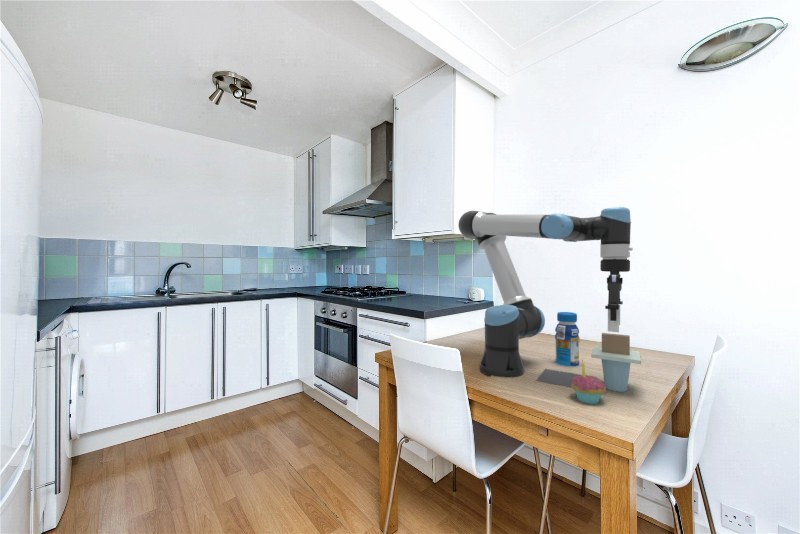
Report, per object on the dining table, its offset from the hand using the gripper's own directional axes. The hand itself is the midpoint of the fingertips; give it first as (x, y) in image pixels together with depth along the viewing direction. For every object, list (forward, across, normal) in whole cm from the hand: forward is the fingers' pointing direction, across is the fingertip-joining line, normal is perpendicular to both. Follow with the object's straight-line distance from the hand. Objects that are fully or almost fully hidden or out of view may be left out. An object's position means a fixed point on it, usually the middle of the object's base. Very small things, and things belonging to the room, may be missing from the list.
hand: (614, 328), depth 97 cm
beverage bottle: (+19, +19, +15) cm, 31 cm away
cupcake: (+19, -15, +6) cm, 25 cm away
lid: (+8, 0, 0) cm, 9 cm away
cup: (+19, 0, -1) cm, 19 cm away
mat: (+19, 0, +13) cm, 23 cm away
